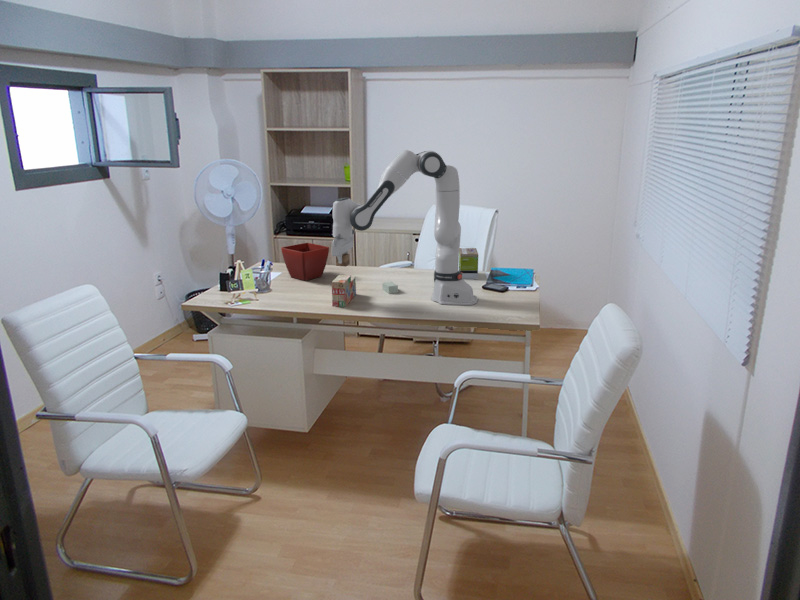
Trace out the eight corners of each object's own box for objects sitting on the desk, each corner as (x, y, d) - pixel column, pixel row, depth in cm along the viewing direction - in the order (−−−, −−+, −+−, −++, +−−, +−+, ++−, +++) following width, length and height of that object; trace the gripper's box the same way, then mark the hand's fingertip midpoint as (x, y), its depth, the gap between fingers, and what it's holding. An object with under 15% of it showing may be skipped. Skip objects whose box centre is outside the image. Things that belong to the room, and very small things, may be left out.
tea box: (458, 272, 338) (458, 247, 333) (475, 273, 337) (476, 247, 333) (459, 279, 323) (460, 253, 319) (477, 280, 323) (479, 253, 318)
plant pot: (308, 270, 340) (307, 242, 335) (331, 276, 328) (330, 246, 323) (281, 277, 326) (280, 247, 321) (304, 283, 314) (303, 252, 309)
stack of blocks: (344, 293, 297) (343, 270, 293) (356, 294, 296) (355, 270, 292) (332, 306, 277) (331, 281, 273) (345, 307, 276) (344, 282, 272)
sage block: (391, 288, 306) (391, 281, 305) (397, 292, 299) (397, 285, 298) (382, 290, 304) (382, 282, 303) (388, 294, 297) (388, 286, 296)
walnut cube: (349, 264, 281) (349, 253, 280) (346, 266, 277) (345, 256, 275) (339, 263, 283) (339, 253, 281) (336, 265, 278) (335, 255, 277)
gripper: (341, 237, 265) (341, 267, 269) (355, 229, 284) (356, 257, 288) (327, 236, 266) (328, 266, 270) (343, 228, 285) (343, 256, 289)
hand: (342, 261), depth 279 cm, fingers closed on walnut cube, 5 cm apart
